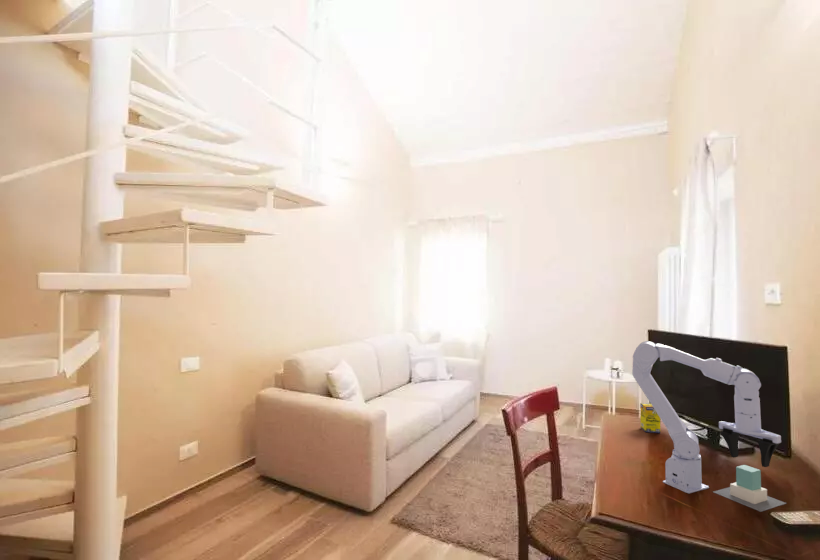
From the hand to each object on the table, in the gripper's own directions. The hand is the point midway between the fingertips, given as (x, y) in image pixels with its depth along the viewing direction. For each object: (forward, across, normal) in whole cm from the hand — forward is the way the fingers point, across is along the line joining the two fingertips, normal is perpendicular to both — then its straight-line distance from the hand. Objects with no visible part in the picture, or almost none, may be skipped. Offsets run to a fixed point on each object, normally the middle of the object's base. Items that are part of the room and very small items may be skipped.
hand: (749, 461), depth 117 cm
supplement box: (+10, +53, -28) cm, 61 cm away
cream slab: (+10, 0, 0) cm, 10 cm away
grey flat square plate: (+10, 0, 0) cm, 10 cm away
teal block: (+7, 0, 0) cm, 7 cm away
